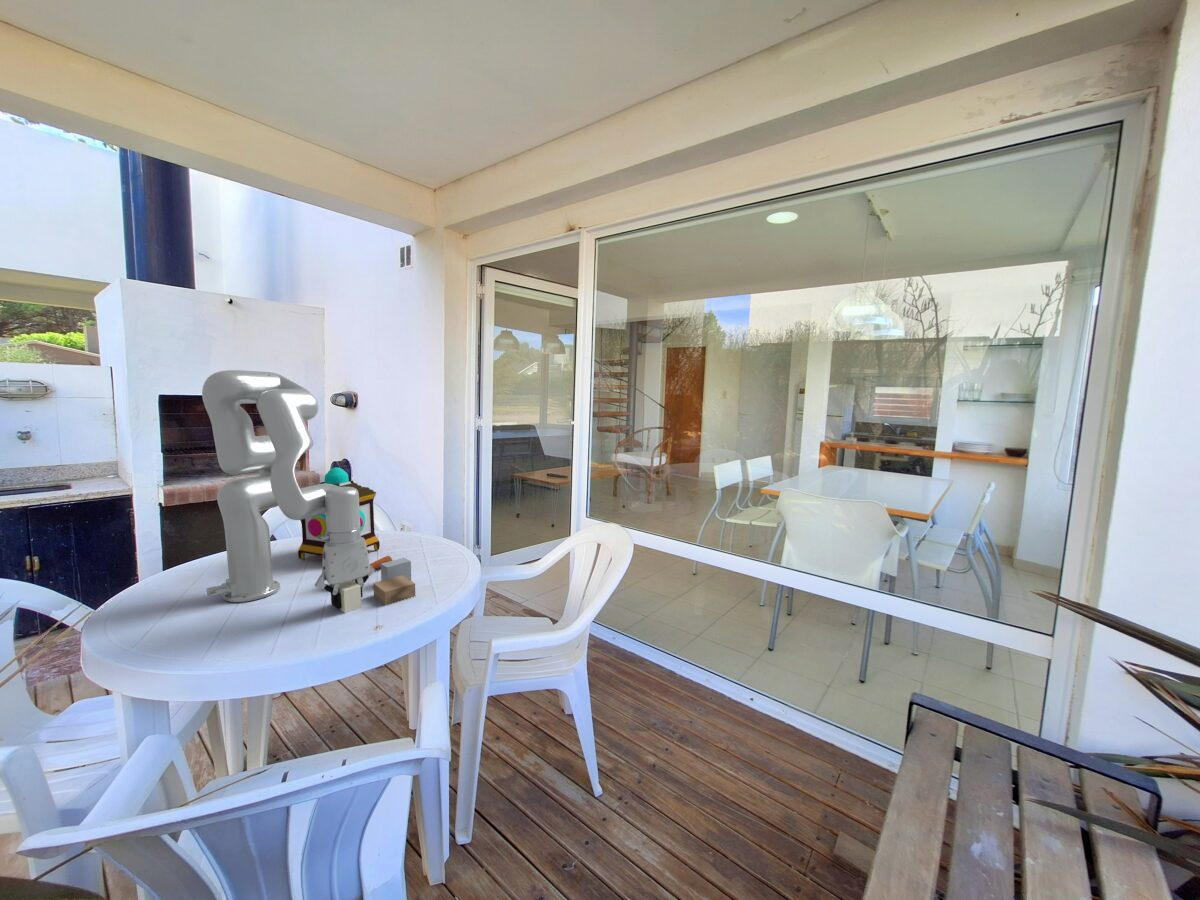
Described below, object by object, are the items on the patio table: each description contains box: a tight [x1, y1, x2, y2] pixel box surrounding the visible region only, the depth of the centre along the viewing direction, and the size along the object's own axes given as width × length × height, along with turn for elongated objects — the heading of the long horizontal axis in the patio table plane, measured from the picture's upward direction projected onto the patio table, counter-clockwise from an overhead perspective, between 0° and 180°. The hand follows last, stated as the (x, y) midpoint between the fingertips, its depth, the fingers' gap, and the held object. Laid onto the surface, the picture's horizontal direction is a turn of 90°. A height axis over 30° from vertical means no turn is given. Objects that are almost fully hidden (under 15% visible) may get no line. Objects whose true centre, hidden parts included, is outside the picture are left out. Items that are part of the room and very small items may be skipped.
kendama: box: [352, 555, 393, 581], centre depth 141 cm, size 6×6×20 cm
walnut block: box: [372, 575, 416, 606], centre depth 128 cm, size 8×8×4 cm
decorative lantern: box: [297, 467, 381, 560], centre depth 157 cm, size 20×20×30 cm
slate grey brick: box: [380, 557, 412, 581], centre depth 138 cm, size 7×4×6 cm, turn 140°
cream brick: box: [338, 580, 362, 614], centre depth 122 cm, size 7×4×6 cm, turn 50°
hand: (347, 603), depth 122 cm, fingers open, 4 cm apart
